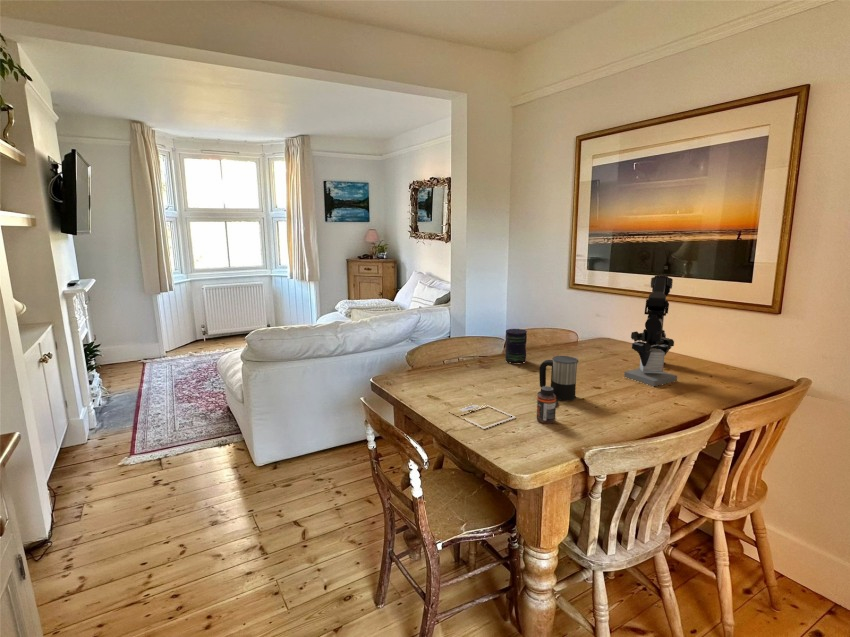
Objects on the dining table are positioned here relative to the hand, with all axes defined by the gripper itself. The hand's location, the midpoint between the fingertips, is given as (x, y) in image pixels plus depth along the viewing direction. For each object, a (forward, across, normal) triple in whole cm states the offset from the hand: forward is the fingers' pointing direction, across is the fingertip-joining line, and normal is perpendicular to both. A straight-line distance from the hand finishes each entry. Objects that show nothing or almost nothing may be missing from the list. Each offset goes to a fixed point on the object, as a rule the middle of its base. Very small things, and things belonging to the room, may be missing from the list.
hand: (651, 364), depth 187 cm
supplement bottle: (+6, +66, +11) cm, 67 cm away
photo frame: (+7, +82, -3) cm, 82 cm away
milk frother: (+6, +50, -2) cm, 50 cm away
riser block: (+7, 0, 0) cm, 7 cm away
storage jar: (+7, +32, -48) cm, 58 cm away
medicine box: (+3, 0, 0) cm, 3 cm away
